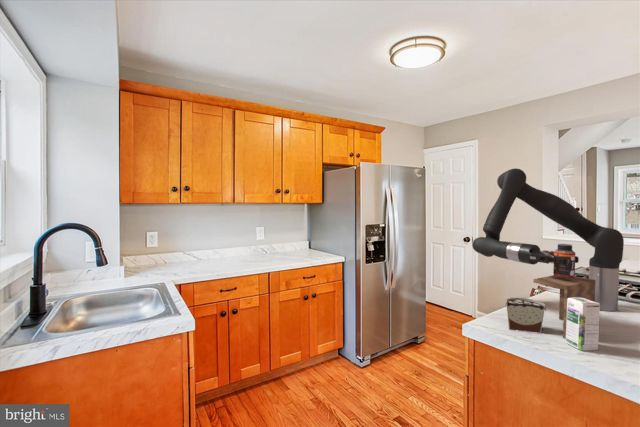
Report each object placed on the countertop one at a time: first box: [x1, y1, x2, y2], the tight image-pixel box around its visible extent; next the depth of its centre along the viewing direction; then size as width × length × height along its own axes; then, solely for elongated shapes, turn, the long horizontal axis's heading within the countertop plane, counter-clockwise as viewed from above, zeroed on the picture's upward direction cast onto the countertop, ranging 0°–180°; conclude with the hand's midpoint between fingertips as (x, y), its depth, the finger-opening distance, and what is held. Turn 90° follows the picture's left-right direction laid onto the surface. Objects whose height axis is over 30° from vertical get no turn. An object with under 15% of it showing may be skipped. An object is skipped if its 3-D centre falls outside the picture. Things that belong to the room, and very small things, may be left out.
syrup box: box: [565, 297, 601, 352], centre depth 97 cm, size 6×6×14 cm
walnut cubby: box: [532, 274, 596, 340], centre depth 110 cm, size 18×10×17 cm, turn 116°
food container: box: [504, 297, 548, 334], centre depth 111 cm, size 12×6×10 cm, turn 71°
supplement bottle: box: [552, 243, 576, 278], centre depth 110 cm, size 6×6×11 cm
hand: (572, 260), depth 108 cm, fingers closed on supplement bottle, 6 cm apart
